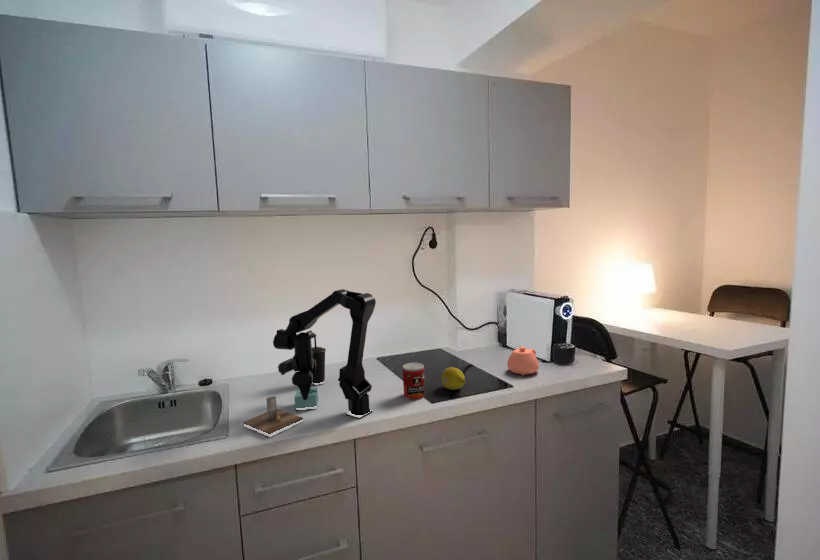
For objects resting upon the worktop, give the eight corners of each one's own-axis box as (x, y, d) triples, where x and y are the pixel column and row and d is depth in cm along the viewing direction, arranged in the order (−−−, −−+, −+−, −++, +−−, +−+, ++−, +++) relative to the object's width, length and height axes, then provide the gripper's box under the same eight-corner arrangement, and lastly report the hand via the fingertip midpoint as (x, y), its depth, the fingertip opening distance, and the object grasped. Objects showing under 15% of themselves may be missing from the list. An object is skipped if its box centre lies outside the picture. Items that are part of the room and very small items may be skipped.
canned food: (407, 401, 140) (405, 370, 139) (401, 393, 148) (400, 363, 147) (428, 398, 142) (426, 367, 141) (421, 390, 150) (420, 361, 149)
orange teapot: (501, 371, 166) (500, 347, 165) (524, 364, 174) (523, 341, 173) (524, 379, 156) (524, 353, 155) (548, 371, 163) (547, 346, 162)
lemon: (437, 386, 153) (436, 365, 152) (456, 382, 155) (455, 362, 155) (450, 396, 143) (449, 374, 142) (470, 392, 145) (469, 370, 144)
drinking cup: (304, 384, 162) (301, 335, 160) (321, 378, 167) (317, 331, 165) (315, 388, 157) (311, 337, 155) (331, 382, 162) (328, 333, 160)
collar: (318, 401, 144) (317, 387, 144) (316, 409, 137) (315, 394, 137) (298, 403, 143) (297, 389, 143) (295, 411, 136) (294, 397, 136)
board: (303, 422, 128) (301, 396, 127) (270, 438, 118) (267, 410, 117) (276, 412, 136) (274, 388, 135) (243, 426, 126) (240, 400, 126)
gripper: (283, 345, 146) (286, 387, 148) (273, 360, 128) (277, 408, 129) (314, 342, 148) (317, 384, 149) (309, 357, 129) (313, 404, 131)
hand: (306, 394), depth 140 cm, fingers open, 9 cm apart
